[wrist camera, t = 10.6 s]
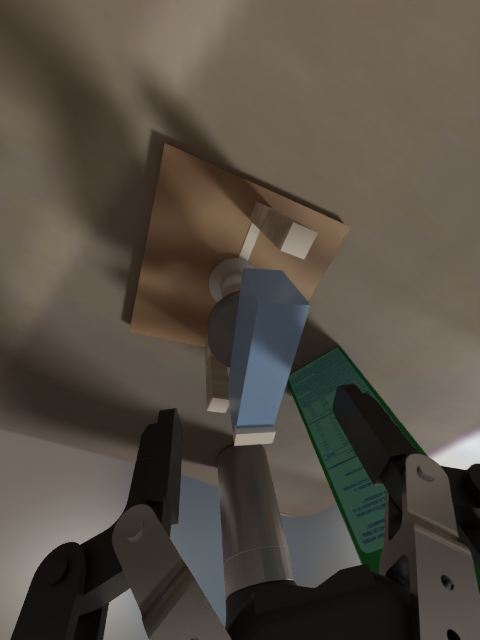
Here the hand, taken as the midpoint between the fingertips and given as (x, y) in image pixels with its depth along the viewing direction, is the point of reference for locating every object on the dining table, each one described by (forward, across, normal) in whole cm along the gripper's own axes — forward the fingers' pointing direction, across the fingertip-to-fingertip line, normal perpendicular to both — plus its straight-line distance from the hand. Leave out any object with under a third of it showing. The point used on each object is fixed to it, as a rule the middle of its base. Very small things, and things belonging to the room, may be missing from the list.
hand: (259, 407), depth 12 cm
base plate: (+17, -1, 0) cm, 17 cm away
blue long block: (+7, -1, 0) cm, 7 cm away
